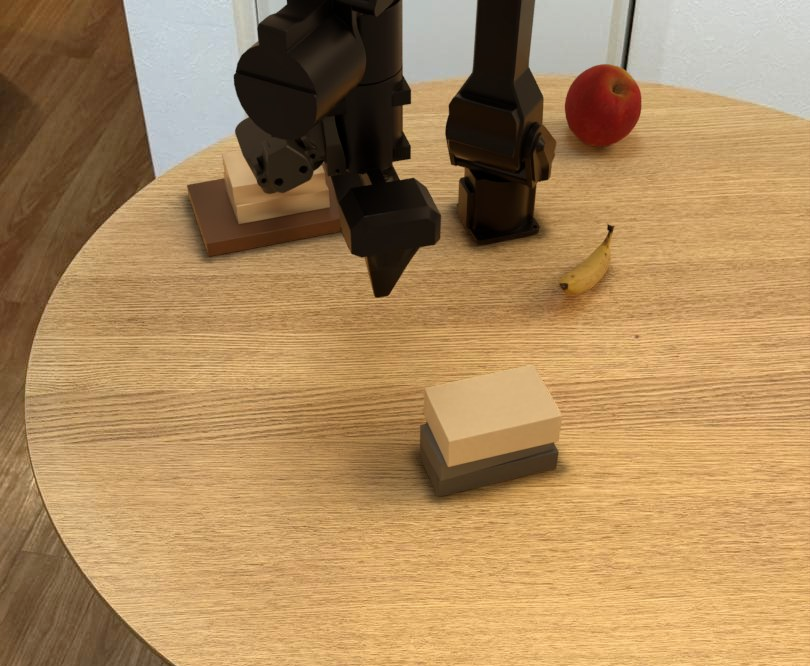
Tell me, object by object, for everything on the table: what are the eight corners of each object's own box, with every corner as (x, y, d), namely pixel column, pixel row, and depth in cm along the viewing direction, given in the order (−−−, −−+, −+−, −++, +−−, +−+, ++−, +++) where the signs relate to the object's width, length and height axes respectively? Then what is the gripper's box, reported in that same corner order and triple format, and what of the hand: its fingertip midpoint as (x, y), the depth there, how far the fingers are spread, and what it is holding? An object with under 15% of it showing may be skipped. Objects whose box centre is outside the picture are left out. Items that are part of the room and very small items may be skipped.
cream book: (530, 389, 92) (533, 363, 90) (559, 441, 88) (563, 415, 86) (423, 413, 90) (423, 387, 88) (447, 467, 87) (448, 441, 84)
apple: (565, 162, 119) (574, 90, 113) (558, 120, 124) (566, 48, 118) (639, 162, 119) (651, 89, 113) (628, 119, 124) (640, 48, 118)
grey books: (534, 428, 95) (538, 393, 92) (557, 470, 92) (562, 435, 89) (417, 455, 93) (417, 420, 90) (436, 499, 90) (437, 464, 87)
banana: (571, 322, 103) (576, 286, 100) (547, 313, 104) (551, 277, 101) (618, 262, 109) (624, 226, 106) (595, 254, 109) (600, 218, 106)
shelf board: (343, 169, 118) (340, 120, 114) (370, 225, 112) (369, 176, 108) (188, 197, 115) (180, 148, 111) (208, 256, 109) (200, 207, 105)
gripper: (213, 13, 80) (238, 206, 92) (267, 159, 69) (288, 357, 81) (368, -8, 82) (372, 184, 94) (446, 131, 71) (440, 328, 83)
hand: (365, 258), depth 88 cm, fingers open, 9 cm apart
